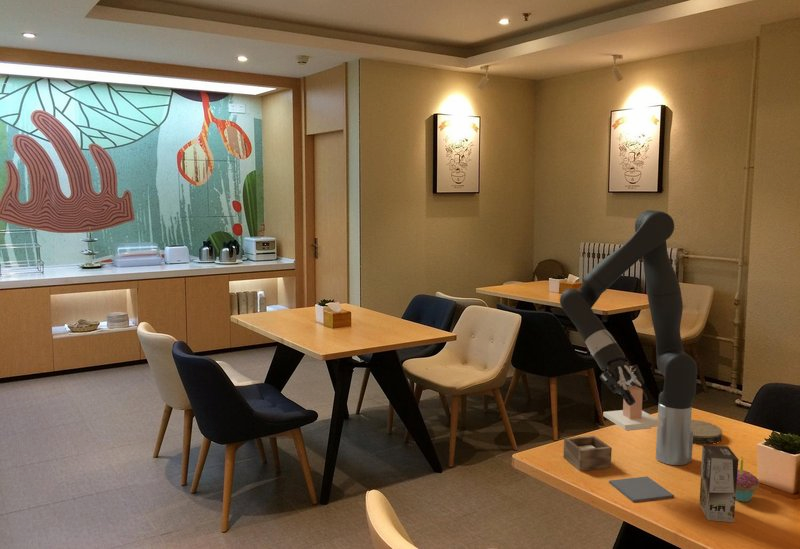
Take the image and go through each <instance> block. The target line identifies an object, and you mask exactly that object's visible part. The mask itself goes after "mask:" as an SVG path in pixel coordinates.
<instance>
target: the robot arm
mask: <svg viewBox="0 0 800 549" xmlns="http://www.w3.org/2000/svg"><path fill="white" fill-rule="evenodd" d="M674 231H675V221H674V219H673V218H672V216H671V215H670V214H669V213H666V212H663V211H660V210H652V209H651V210H645V211H642V212H641V213H640V214H639V215H638V216H637V218H636V220H635V222H634V232H635V233H634V234H633V235H632V236H631V237H630V238H629V240H627V241H626V242H625V243H624V244H622V245H621V246H620V247H619V248H617V249H615V251H613V252H612V253H610V254H609V255H607V256H605V258H603V259H602V260H601V261H599V262H598V263H597V264H596V265H595V266H594V267H593V268H592V269H591V270H590V271H589V272H588V273H587V274H586V275H585V276H584V277H583V282H582V284H581V286H580V287H579V288H578V289H575V288H569V289H568V288H567V289H565V290H564V291H563V292H562V293H561V295H560V297H559V302H560V303H559V304H560V306H561V309H562V310H563V312H564V313H565V315H567V317H568V318H569V319H570V322H572V323H573V325H574V326H575V328H576V329H577V330H576V331H578V333H579V335H580V338H582V340H583V342H584V343H585V345H586V347H587V349H588V351H589V352H590V354H591V356H592V358H593V359H594V360H595V362H596V363H597V365H598V367H599V368H600V370H602V371H604V372H603V373H602V374H601V375H600V376H599V379H600V380H601V381H602V382H603V383H604V385H605V386H606V387H607V388H608V389H609V390H610V391H611V392H612V393H613V394H619V395H621V396H622V398H624V400H625V401H626V403H627V404H628V405H629V406H631V405H633V404H634V403H635V399H634V398H633V396H632V395H631V393H630V392H629V390H627V386H637V387H639V388H641V389H643V388H642V386H643V385H644V384H645V380H644V377H643V375H642V373H641V370H640V368H639V365H638V364H634V365H629V363H628V362H626V360H625V359H626V356H625V354H624V352H623V351H622V348H620V346H619V344H618V343H617V341H616V340H615V338H614V336H612V334H611V333H610V332H609V331H608V330H607V328H606V327H605V325H604V323H603V322H602V321H601V319H600V318H599V317H598V315H596V313H595V312H594V311H593V309H592V308H593V307H594V306H595V304H596V302H598V300H599V299H600V298H601V296H602V294H603V293H605V291H607V290H608V289H609V288H610V287H611V286H612V285H613V284H614V283H615V282H616V281H617V280H618V279H619V278H620V277H621V276H623V275H624V274H625V273H626V272H627V271H628V270H629V269H630V268H631V267H632V266H633V265H635V264H636V263H637V262H638V261H639V260H641V259H642V262H643V274H644V281H645V287H646V288H645V289H646V295H647V301H648V305H649V312H650V317H651V321H652V322H651V323H652V326H653V331H654V335H655V336H654V337H655V348H656V349H655V350H656V351H655V352H656V366H657V369H658V371H659V373H660V374H661V375H662V376H663V377H664V382H663V390H662V391H661V392H659V394H658V405H657V406H658V408H657V419H658V420H660V421H662V426H657V427H656V428H657V429H656V442H655V445H656V446H655V459H656V460H657V461H659V462H661V463H663V464H666V465H671V466H684V465H687V464H689V463H692V462H693V461H692V460H693V445H694V443H693V431H692V430H691V420H692V410H693V407H692V406H693V401H694V399H695V397H696V393H697V380H698V366H697V361H696V360H695V359H694V358H693V357H692V356H690V355H689V354H687V353H686V352H685V349H684V346H683V342H682V336H681V325H682V324H681V323H682V318H683V308H684V307H683V306H684V304H683V297H682V290H681V285H680V282H679V279H678V276H677V273H676V271H675V269H674V267H673V265H672V262H671V260H670V257H669V253H668V246H667V240H668V239H670V237H672V235H673V233H674ZM648 399H649V398H648V396H647V393H646V392H645V390H644V389H643V394H642V403H645V402H646V401H647V400H648Z"/></svg>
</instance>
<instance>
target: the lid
mask: <svg viewBox="0 0 800 549" xmlns="http://www.w3.org/2000/svg"><path fill="white" fill-rule="evenodd" d="M626 387H627V390H629V392H630V393H631V395H632V396H633V398H634V399H635V403H634V404H633V405H631V406H629V405H628V404H627V403H626V401H625V400H624V398H623V397H622V398H623V399H622V400H623V403H622V409H620V410H608V411H603V413H602V414H603V415H602V416H603V417H604V418H606V419H607V420H609V421H611V422H612V423H614V424H615V425H617V427H620V428H622V429H623V430H625V431H627V432H630V431H639V430H649V429H650V430H651V429H652V427H653V428H655V427H656V428H657V426H662V421H660V420H658V417H654V416H653V415H651V414H650V413H648V412H647V411H644V410H643V402H642V394H643V390H644V389H643V388H642V389H641V388H639V387H637V386H629V385H626Z"/></svg>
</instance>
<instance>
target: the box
mask: <svg viewBox="0 0 800 549" xmlns="http://www.w3.org/2000/svg"><path fill="white" fill-rule="evenodd" d="M612 449H613V448H612V447H611V446H610V445H608V444H607V443H605V442H604V441H603V440H601V439H600V438H598V437H597V436H595V435H587V436H586V435H585V436H577V437H575V436H574V437H567V438H563V459H564V460H566V461H567V462H568V463H570V465H572V466H574V468H576V469H577V470H578V471H579V472H582V471H590V470H601V469H602V470H603V469H611V467H612Z"/></svg>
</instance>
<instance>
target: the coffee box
mask: <svg viewBox="0 0 800 549" xmlns="http://www.w3.org/2000/svg"><path fill="white" fill-rule="evenodd" d="M739 461H740V459H739V458H738V457H737V456H736V454H735V453H734V452H733V450H732V449H731V448H730V447H729V446H728V445H727V446H725V445H714V444H711V445H710V444H706V445H704V444H702V453H701V467H700V468H701V469H700V489H699V506H700V508H701V510H702V511H703V513H704V515H705V518H706V519H707V520H709V521H715V522H716V521H717V522H727V523H734V522H735V513H736V512H735V511H736V501H737V500H736V486H737V473H738V470H739V469H738V468H739Z"/></svg>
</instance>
